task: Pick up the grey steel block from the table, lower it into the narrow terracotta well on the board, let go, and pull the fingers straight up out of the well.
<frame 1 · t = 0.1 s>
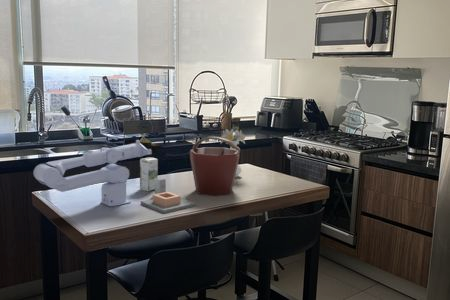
hand: (156, 146, 194), 22 cm above the table, tool horizontal, fingers open, 7 cm apart
well board: (166, 205, 181), on the table
steel block: (160, 196, 195), on the table
syrup box: (148, 190, 206), on the table
bucket: (213, 191, 205), on the table
flower vase: (231, 176, 238), on the table
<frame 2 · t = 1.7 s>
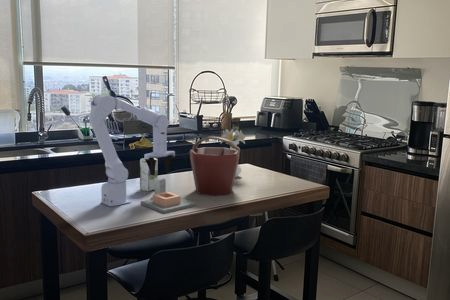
hand: (160, 173, 193), 10 cm above the table, tool pointing down, fingers open, 7 cm apart
nothing on the table moved.
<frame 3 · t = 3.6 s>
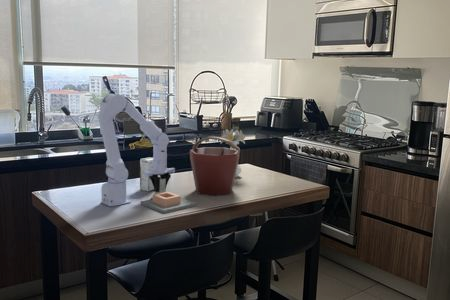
hand: (160, 191, 194), 2 cm above the table, tool pointing down, fingers closed on steel block, 3 cm apart
steel block: (160, 196, 195), on the table, touching gripper
everything else where it was.
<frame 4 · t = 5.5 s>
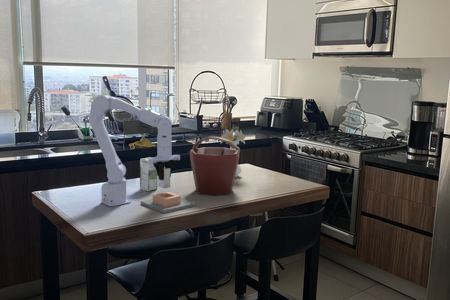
hand: (164, 179, 184), 10 cm above the table, tool pointing down, fingers closed on steel block, 3 cm apart
steel block: (164, 187, 185), point 7 cm above the table, touching gripper
everything else where it was.
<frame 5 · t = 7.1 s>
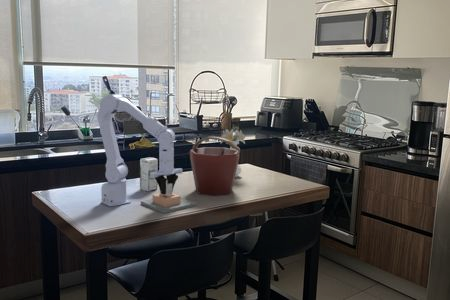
hand: (166, 193, 181), 5 cm above the table, tool pointing down, fingers closed on steel block, 3 cm apart
steel block: (166, 202, 181), point 1 cm above the table, touching gripper
everything else where it was.
when the fingers open (5 cm above the table, at t = 7.8 s): steel block stays where it is, resting on well board.
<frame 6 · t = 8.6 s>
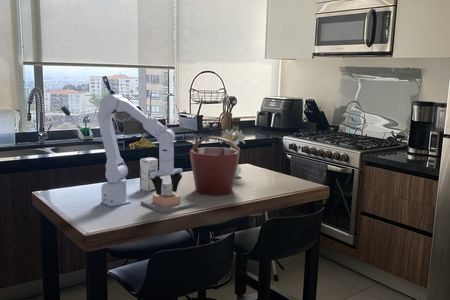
hand: (166, 193, 181), 5 cm above the table, tool pointing down, fingers open, 7 cm apart
steel block: (166, 202, 181), point 1 cm above the table, touching well board
everything else where it was.
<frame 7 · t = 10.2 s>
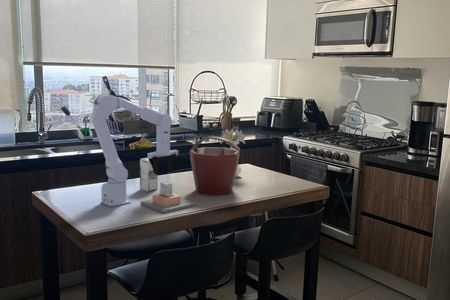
hand: (163, 173, 193), 10 cm above the table, tool pointing down, fingers open, 7 cm apart
nothing on the table moved.
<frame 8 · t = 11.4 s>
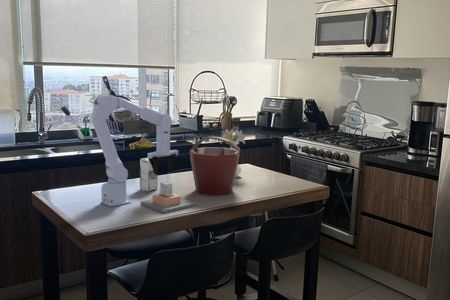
hand: (163, 173, 193), 10 cm above the table, tool pointing down, fingers open, 7 cm apart
nothing on the table moved.
at the end: steel block 0.2 cm off-centre on the well board, point 1.2 cm above the well board's base; steel block tilted 0°; the gripper is holding nothing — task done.
